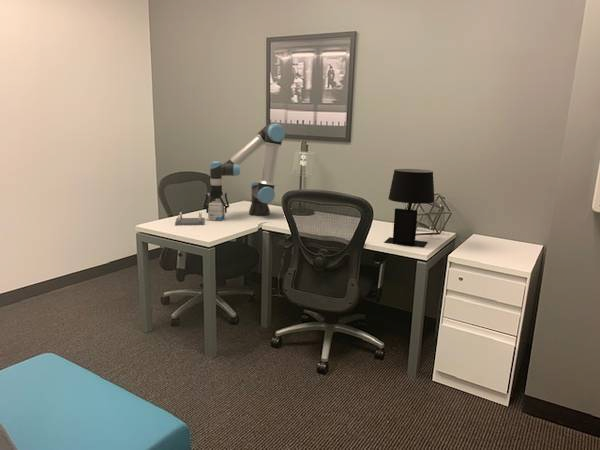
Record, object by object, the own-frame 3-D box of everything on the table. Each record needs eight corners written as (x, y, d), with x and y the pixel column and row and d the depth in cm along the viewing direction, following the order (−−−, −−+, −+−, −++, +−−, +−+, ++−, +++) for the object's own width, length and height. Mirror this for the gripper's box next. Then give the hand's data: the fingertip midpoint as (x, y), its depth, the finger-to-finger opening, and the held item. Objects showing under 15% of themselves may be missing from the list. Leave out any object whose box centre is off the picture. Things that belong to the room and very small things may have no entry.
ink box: (224, 218, 309) (224, 201, 307) (221, 221, 301) (221, 203, 299) (212, 218, 310) (212, 201, 308) (208, 220, 302) (208, 203, 299)
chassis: (204, 219, 303) (204, 211, 302) (204, 224, 288) (204, 216, 287) (176, 220, 299) (176, 212, 298) (175, 225, 284) (174, 216, 283)
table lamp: (380, 242, 253) (384, 171, 245) (391, 233, 278) (395, 167, 270) (426, 248, 243) (433, 174, 235) (433, 237, 268) (439, 170, 260)
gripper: (232, 184, 306) (233, 216, 311) (199, 184, 302) (199, 216, 307) (233, 185, 299) (233, 218, 304) (198, 185, 295) (199, 219, 300)
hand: (216, 217), depth 305 cm, fingers closed on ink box, 10 cm apart
